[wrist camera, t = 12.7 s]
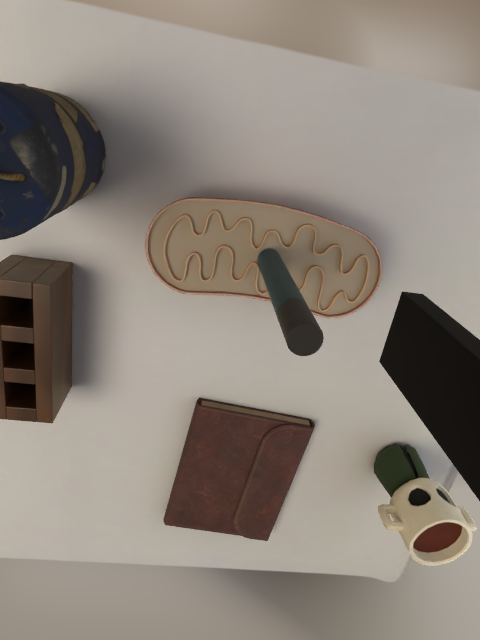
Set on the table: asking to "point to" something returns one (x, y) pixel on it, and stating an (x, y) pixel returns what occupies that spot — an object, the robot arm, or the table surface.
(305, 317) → the pen
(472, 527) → the character mug
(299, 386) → the table surface
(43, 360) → the pen holder
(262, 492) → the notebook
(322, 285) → the anatomical model
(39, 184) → the canister
